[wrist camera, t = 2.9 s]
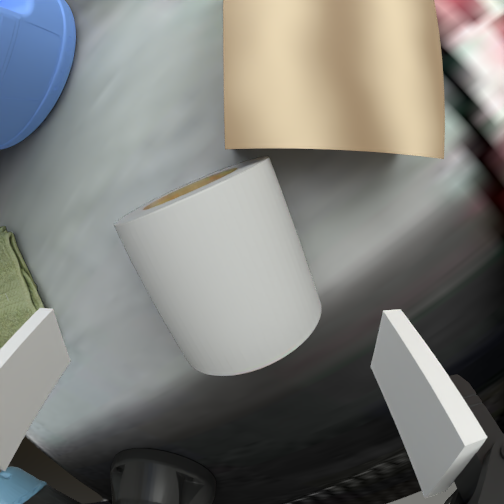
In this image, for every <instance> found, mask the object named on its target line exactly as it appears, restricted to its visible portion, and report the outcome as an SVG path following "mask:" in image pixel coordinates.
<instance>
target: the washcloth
mask: <svg viewBox="0 0 504 504" xmlns="http://www.w3.org/2000/svg"><path fill="white" fill-rule="evenodd" d="M39 308H44V306H43V303H42V301H41V299H40V297H39V295H38V292H37V286H36V285H35V284H34V281H33V279H32V277H31V275H30V273H29V270H28V268H27V266H26V264H25V262H24V260H23V258H22V255H21V254H20V251H19V249H18V247H17V245H16V241H15V237H14V234H13V233H12V232H7V230H6V227H5V226H3V227H0V349H1V348H2V347H3V346H4V345H5V344H6V342H7V341H8V340H9V339H10V338H11V337H12V336H13V335H14V334H15V333H16V332H17V331H18V330H19V329H20V328H21V327H22V326H23V325H24V323H25V322H26V321H27V320H28V319H29V318H30V317H31V316H32V315H33V314H34V313H35V312H36V311H37V310H38V309H39Z"/></svg>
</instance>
